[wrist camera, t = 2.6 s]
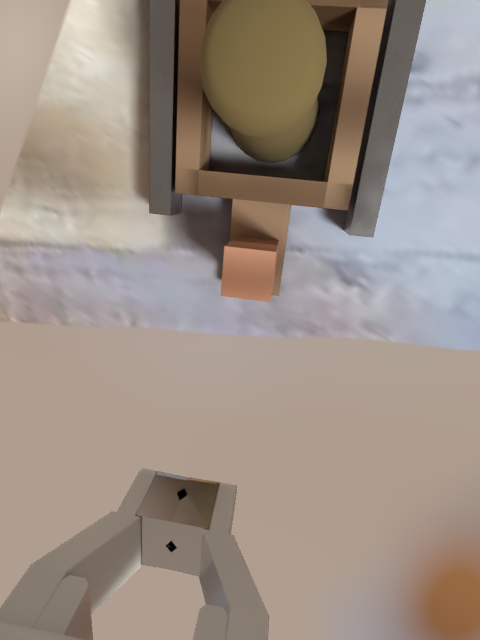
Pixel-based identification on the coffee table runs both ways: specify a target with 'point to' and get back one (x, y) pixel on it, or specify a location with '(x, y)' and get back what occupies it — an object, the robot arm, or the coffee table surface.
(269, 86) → the cork
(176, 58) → the lane rails
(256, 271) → the frame
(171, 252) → the coffee table surface
